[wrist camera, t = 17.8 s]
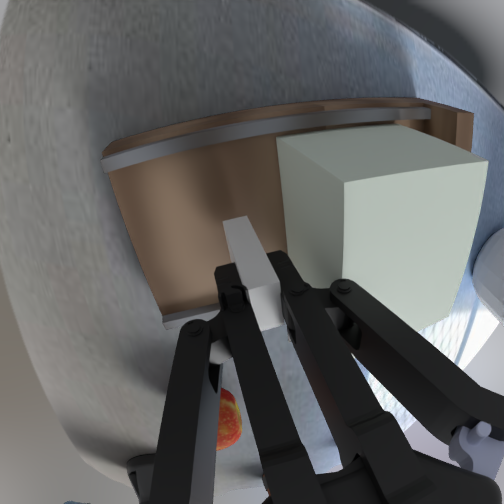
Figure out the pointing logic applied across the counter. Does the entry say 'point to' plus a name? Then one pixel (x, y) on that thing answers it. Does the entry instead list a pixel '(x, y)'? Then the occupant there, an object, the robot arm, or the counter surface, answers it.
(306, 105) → the housing base
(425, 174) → the cover
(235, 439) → the apple
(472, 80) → the counter surface
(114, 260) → the counter surface
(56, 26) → the counter surface
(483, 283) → the soap bottle
